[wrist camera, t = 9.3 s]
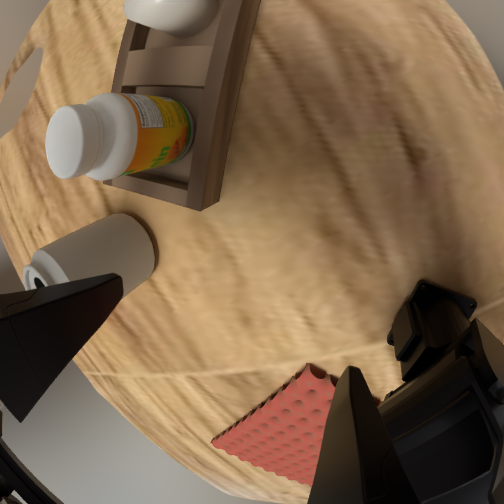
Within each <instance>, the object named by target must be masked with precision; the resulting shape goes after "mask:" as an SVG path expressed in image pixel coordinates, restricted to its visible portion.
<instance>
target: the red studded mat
mask: <svg viewBox="0 0 504 504" xmlns="http://www.w3.org/2000/svg"><path fill="white" fill-rule="evenodd" d="M309 367H310V364H306V367H305V370H304V372H303V373H302V375H301V376H300V377H299V378H298V379H296V376H297V375H298V374H297V373H296V374H295V376H292V380H291V382H290V384H289V385H288V387H287V388H286V389H285V390H283V388H284V386H285V385H284V384H283V386H282V387H280V389H279V391H278V393H277V395H276V396H275V397H274V399H272V400H271V398H272V396H273V394H271V396H269V398H268V400H267V402H266V403H265V405H264V406H263V407H262V408H261V406H262V404H263V402H261V404H259V406H258V408H257V410H256V411H255V413H254V414H253V415H252V412H253V411H254V410H253V409H252V411H250V413H249V415H248V417H247V418H246V419H245V420H244V418H245V416H244V417H242V419H241V421H240V422H239V424H238V425H237V426H236V424H237V423H238V422H237V421H236V423H234V425H233V427H232V429H231V430H230V428H231V426H230V427H228V429H227V431H226V432H225V431H223V432H222V433H221V435H219V434H218V436H216V438H215V440H214V438H213V439H212V441H211V443H212V444H213V446H214V447H215V448H217V449H223V450H225V451H226V453H227V454H229V455H235V456H238V458H239V459H240V460H241V461H248V462H251V464H252V465H253V466H256V467H257V466H259V467H263V469H264V470H265V471H268V472H269V471H271V472H275V474H276V475H278V476H286V477H287V478H288V479H289V480H297V481H298V482H299V483H300V484H309V486H310V487H312V484H313V480H314V476H315V472H316V467H317V463H318V458H319V454H320V449H321V444H322V439H323V434H324V429H325V424H326V420H327V416H328V413H329V409H330V406H331V402H332V399H333V395H334V392H335V387H334V386H333V385H332V383H331V380H330V376H331V375H327V374H326V376H325V378H324V379H318V378H316V377H315V376H313V375H312V373H311V371H310V368H309ZM325 373H326V372H325ZM379 402H380V399H379ZM383 402H384V401H383ZM381 403H382V402H380V404H381ZM380 404H379V405H380ZM243 420H244V421H243ZM229 430H230V431H229ZM224 432H225V434H224ZM223 434H224V435H223ZM219 436H220V437H219ZM218 437H219V438H218ZM213 440H214V441H213Z"/></svg>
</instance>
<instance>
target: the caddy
mask: <svg viewBox="0 0 504 504" xmlns="http://www.w3.org/2000/svg"><path fill="white" fill-rule="evenodd" d="M260 1H261V0H218V5H219V6H218V12H217V15H216V17H215V19H214V20H213V22H212V23H211V24H210V25H209V26H208V27H207V28H206V29H205V30H203V31H202V32H200V33H199V34H197V35H195V36H192V37H189V38H176V37H173V36H171V35H168V34H166V33H163V32H161V31H158V30H156V29H153V28H151V27H148V26H145V25H142V24H140V23H137V22H134V21H131V20H129V19H128V20H127V24H126V27H125V31H124V34H123V38H122V42H121V46H120V50H119V55H118V59H117V64H116V69H115V74H114V79H113V85H112V91H111V93H125V94H139V95H149V96H158V97H167V98H172V99H175V100H178V101H179V102H181V103H182V104H184V105H185V106H186V107H187V109H188V110H189V112H190V114H191V116H192V119H193V124H194V135H193V140H192V143H191V145H190V147H189V149H188V151H187V152H186V154H185V155H184V156H183V157H182V158H181V159H179V160H178V161H176V162H175V163H172V164H169V165H166V166H161V167H156V168H152V169H148V170H144V171H140V172H136V173H132V174H128V175H124V176H121V177H117V178H114V179H109V180H104V181H103V184H106V185H110V186H114V187H117V188H121V189H124V190H128V191H132V192H135V193H139V194H142V195H146V196H149V197H153V198H156V199H160V200H163V201H167V202H170V203H174V204H177V205H180V206H184V207H187V208H190V209H194V210H197V211H202V210H204V209H206V208H208V207H209V206H211V205H213V204H215V203H217V202H219V197H220V191H221V185H222V179H223V173H224V167H225V162H226V156H227V151H228V145H229V140H230V134H231V129H232V124H233V119H234V114H235V109H236V104H237V99H238V94H239V90H240V85H241V80H242V76H243V71H244V67H245V62H246V58H247V53H248V49H249V45H250V41H251V36H252V32H253V28H254V24H255V20H256V16H257V12H258V8H259V5H260Z"/></svg>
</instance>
